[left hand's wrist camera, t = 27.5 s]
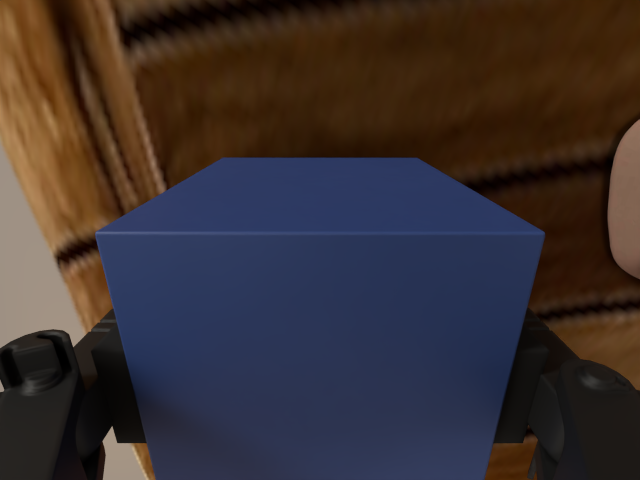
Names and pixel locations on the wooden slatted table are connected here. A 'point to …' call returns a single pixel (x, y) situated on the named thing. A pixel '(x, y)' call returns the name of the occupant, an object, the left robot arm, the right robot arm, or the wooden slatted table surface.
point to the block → (320, 319)
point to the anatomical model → (626, 203)
